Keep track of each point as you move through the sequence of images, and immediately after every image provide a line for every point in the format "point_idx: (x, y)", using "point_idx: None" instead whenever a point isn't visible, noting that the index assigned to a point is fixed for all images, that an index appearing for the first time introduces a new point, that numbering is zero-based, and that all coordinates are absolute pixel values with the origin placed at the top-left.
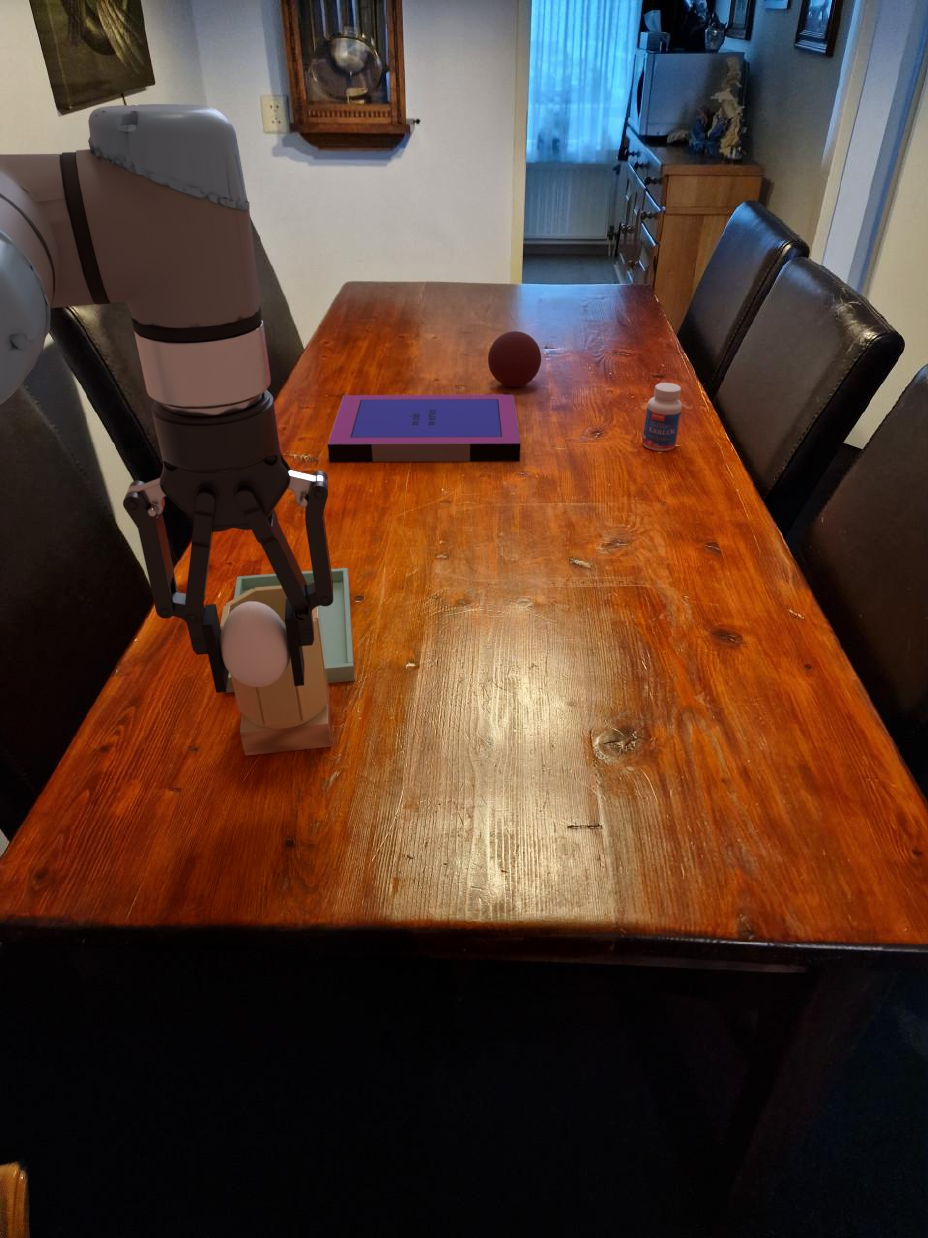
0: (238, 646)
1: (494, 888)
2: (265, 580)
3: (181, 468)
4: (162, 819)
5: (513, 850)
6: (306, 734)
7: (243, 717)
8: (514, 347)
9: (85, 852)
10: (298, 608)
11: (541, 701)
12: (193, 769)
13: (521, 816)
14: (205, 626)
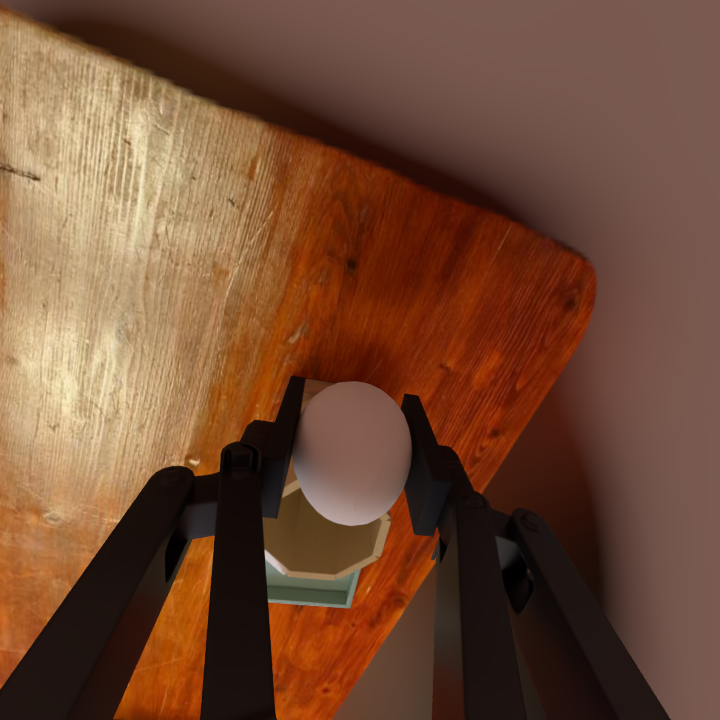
0: (385, 429)
1: (141, 121)
2: (323, 598)
3: None
4: (461, 334)
5: (111, 168)
6: (313, 388)
7: None
8: None
9: (531, 317)
10: (245, 473)
11: (49, 374)
12: (425, 386)
13: (95, 214)
14: (445, 478)
